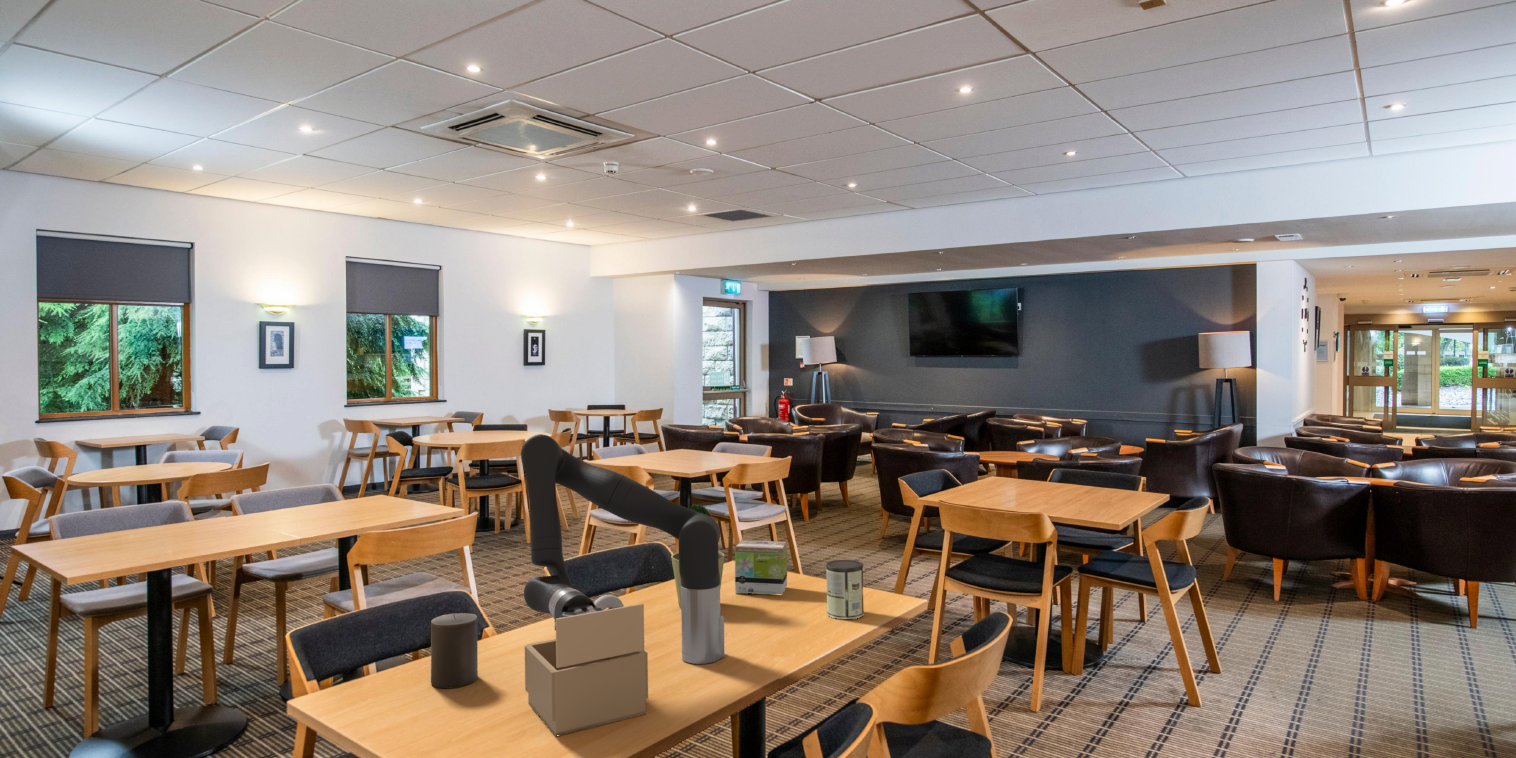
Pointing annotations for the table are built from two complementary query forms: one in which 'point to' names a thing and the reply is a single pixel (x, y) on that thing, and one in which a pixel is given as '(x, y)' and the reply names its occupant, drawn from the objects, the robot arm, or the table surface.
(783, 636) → the table surface
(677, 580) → the potted cactus
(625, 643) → the carton flap
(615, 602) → the donut
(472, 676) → the pillar candle
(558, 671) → the carton
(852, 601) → the coffee can
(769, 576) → the tea box
